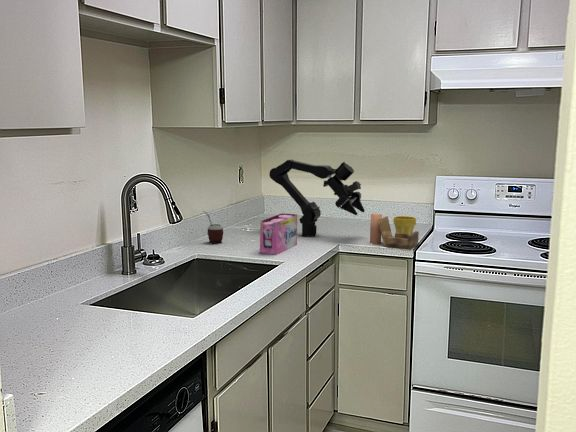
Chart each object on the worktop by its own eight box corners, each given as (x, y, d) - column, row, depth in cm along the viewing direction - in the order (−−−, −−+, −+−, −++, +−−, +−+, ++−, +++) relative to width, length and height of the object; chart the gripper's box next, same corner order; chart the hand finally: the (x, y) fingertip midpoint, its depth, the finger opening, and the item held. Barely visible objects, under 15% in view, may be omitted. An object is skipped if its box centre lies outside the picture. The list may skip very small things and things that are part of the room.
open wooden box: (386, 247, 245) (387, 233, 244) (395, 242, 255) (395, 229, 254) (410, 249, 240) (411, 236, 239) (417, 244, 251) (418, 231, 250)
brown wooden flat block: (377, 245, 248) (377, 219, 246) (384, 241, 257) (385, 216, 255) (386, 246, 246) (387, 219, 244) (393, 242, 255) (394, 216, 253)
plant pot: (394, 235, 272) (395, 215, 270) (416, 236, 269) (417, 216, 267) (391, 239, 262) (392, 218, 260) (414, 240, 259) (415, 219, 257)
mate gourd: (225, 241, 253) (225, 208, 251) (219, 245, 246) (218, 211, 243) (210, 240, 255) (209, 208, 253) (203, 244, 248) (202, 210, 245)
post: (370, 244, 251) (371, 215, 249) (369, 241, 256) (370, 213, 254) (381, 244, 251) (382, 215, 249) (380, 241, 256) (381, 213, 254)
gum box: (275, 255, 228) (275, 222, 226) (257, 253, 231) (257, 221, 229) (297, 244, 250) (297, 214, 247) (281, 242, 253) (281, 212, 250)
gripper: (342, 177, 247) (365, 204, 243) (357, 174, 263) (379, 199, 260) (325, 194, 252) (348, 220, 248) (341, 189, 268) (363, 214, 265)
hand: (360, 213), depth 255 cm, fingers open, 9 cm apart
